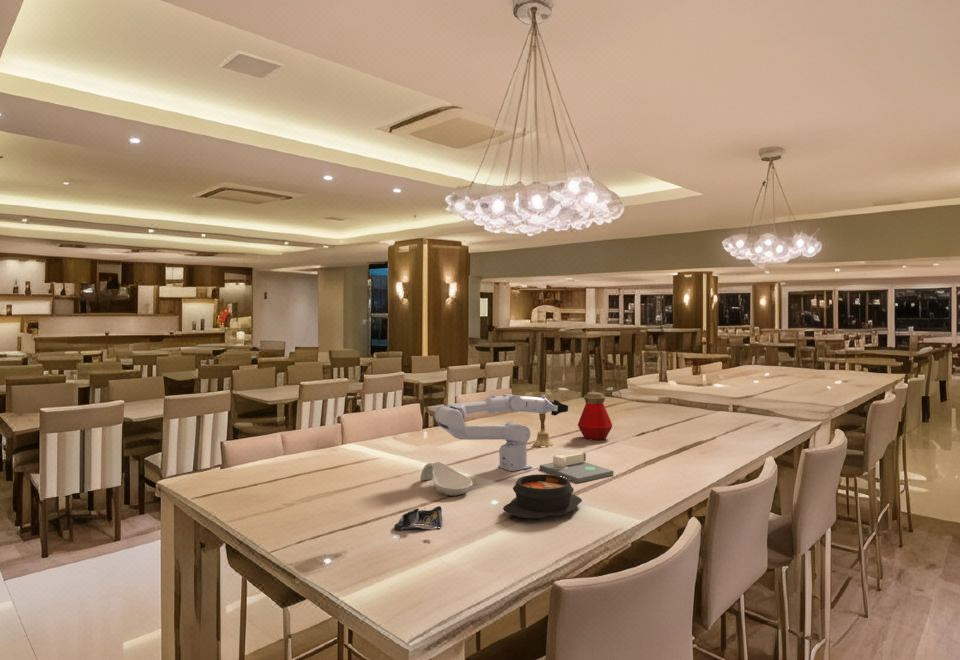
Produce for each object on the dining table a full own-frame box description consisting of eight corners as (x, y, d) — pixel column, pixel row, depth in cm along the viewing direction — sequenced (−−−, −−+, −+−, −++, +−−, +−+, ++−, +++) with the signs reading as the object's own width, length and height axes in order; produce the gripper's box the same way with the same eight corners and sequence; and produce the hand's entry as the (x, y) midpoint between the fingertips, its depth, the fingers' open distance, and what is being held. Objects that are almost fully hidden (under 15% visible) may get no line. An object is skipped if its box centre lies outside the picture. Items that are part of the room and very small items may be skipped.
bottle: (617, 437, 256) (617, 392, 256) (606, 443, 245) (606, 396, 244) (584, 433, 265) (583, 390, 264) (572, 439, 253) (572, 393, 253)
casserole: (548, 493, 177) (547, 466, 177) (597, 508, 164) (597, 479, 163) (488, 513, 161) (487, 483, 161) (537, 531, 147) (537, 498, 147)
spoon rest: (479, 494, 177) (479, 471, 177) (447, 502, 171) (446, 478, 171) (440, 477, 197) (440, 456, 197) (409, 483, 190) (409, 461, 190)
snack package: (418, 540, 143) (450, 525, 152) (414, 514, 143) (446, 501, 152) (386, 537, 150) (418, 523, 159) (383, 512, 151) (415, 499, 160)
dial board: (578, 482, 188) (578, 478, 188) (539, 469, 205) (539, 464, 205) (613, 475, 197) (613, 470, 197) (573, 462, 213) (573, 458, 213)
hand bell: (546, 448, 237) (546, 409, 236) (529, 445, 242) (529, 407, 241) (556, 444, 244) (556, 406, 243) (539, 441, 249) (539, 405, 248)
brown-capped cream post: (558, 468, 199) (558, 458, 199) (550, 465, 203) (550, 456, 202) (588, 462, 206) (588, 453, 206) (580, 459, 210) (580, 450, 210)
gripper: (544, 396, 205) (574, 399, 211) (522, 391, 217) (550, 394, 224) (542, 415, 204) (572, 418, 211) (519, 409, 217) (548, 412, 224)
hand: (561, 407), depth 217 cm, fingers open, 7 cm apart
